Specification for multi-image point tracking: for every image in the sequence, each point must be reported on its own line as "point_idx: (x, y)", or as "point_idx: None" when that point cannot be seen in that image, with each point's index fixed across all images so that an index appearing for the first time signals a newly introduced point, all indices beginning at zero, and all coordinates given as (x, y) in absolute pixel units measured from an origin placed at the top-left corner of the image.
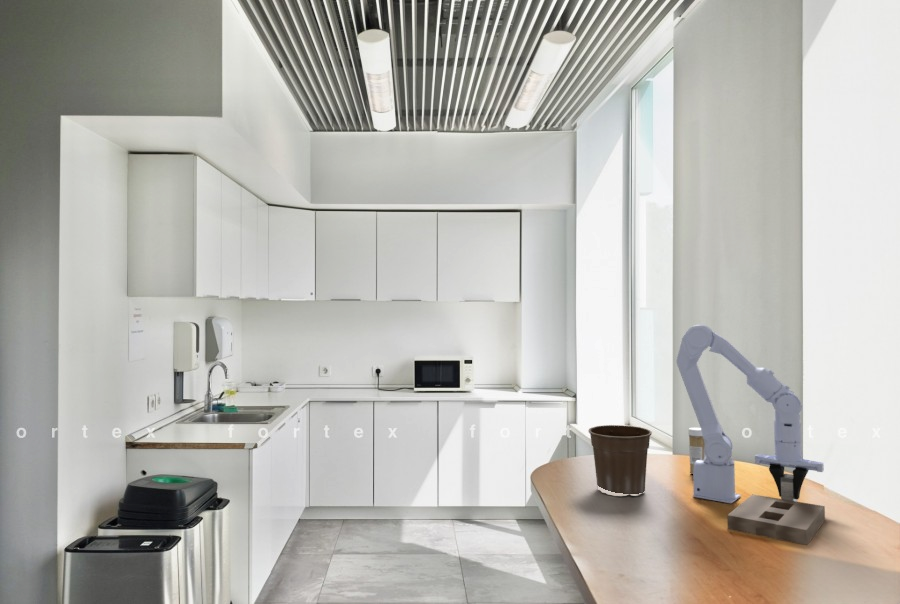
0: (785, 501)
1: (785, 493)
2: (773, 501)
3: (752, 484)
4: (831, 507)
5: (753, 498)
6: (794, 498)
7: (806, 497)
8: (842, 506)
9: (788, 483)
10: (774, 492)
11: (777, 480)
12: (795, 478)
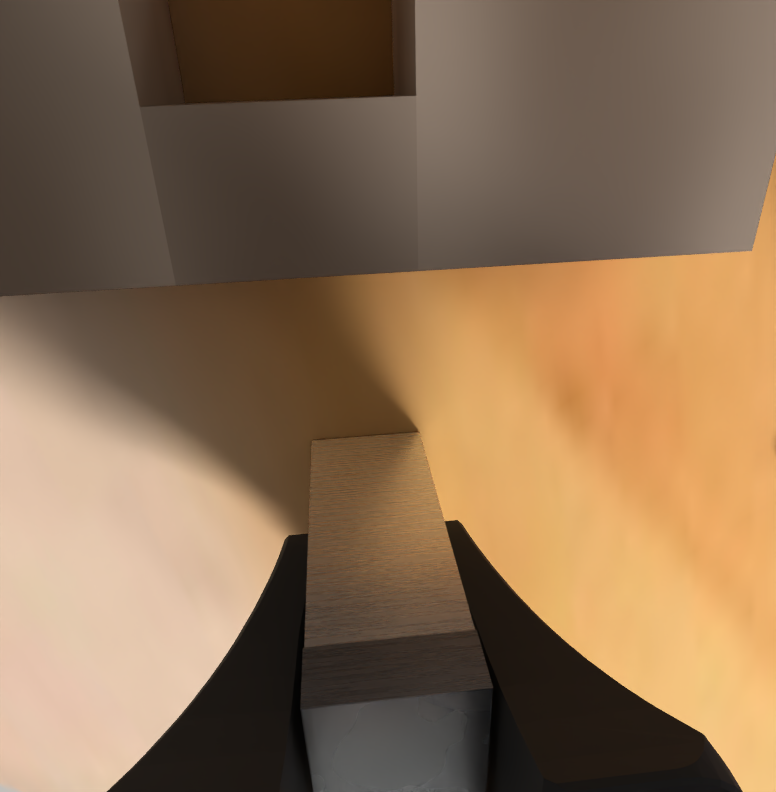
0: (292, 178)
1: (394, 520)
2: (437, 39)
3: None
4: (90, 655)
5: (737, 4)
6: None
7: None
8: (47, 719)
9: (365, 627)
10: None
11: (524, 644)
12: (260, 731)
